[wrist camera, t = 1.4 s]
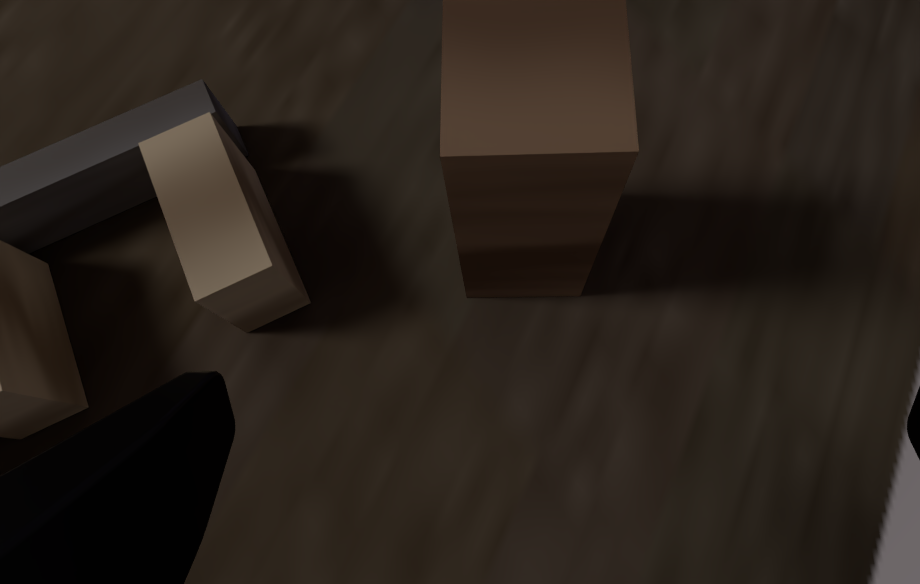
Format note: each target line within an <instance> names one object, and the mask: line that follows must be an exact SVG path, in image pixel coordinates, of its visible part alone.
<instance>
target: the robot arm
mask: <svg viewBox="0 0 920 584" xmlns="http://www.w3.org/2000/svg"><path fill="white" fill-rule="evenodd" d="M907 432H908V436H909V439H910V441H911V443H912V445H913V447H914V449H915V451H916V453H917V456H918V458H919V459H920V387H919V390H918V392H917V395H916V398H915V401H914V403H913V406H912V409H911V411H910V414H909V417H908V421H907ZM234 435H235V419H234V415H233V411H232V407H231V404H230V400H229V396H228V392H227V388H226V385H225V381H224V379H223V377H222V375H221V374H220V373H218V372H217V371H189V372H186V373H184V374H182V375H180V376H178V377H177V378H175V379H173V380H171V381H169V382H168V383H166V384H164V385H162V386H161V387H159V388H157V389H155V390H153V391H152V392H150V393H148V394H146V395H144V396H143V397H141V398H139V399H137V400H135V401H134V402H132V403H130V404H128V405H126V406H125V407H123V408H121V409H119V410H117V411H116V412H114V413H112V414H110V415H109V416H107V417H105V418H103V419H101V420H100V421H98V422H96V423H94V424H92V425H91V426H89V427H87V428H85V429H83V430H82V431H80V432H78V433H76V434H74V435H73V436H71V437H69V438H67V439H65V440H64V441H62V442H60V443H58V444H57V445H55V446H53V447H51V448H49V449H48V450H46V451H44V452H42V453H40V454H39V455H37V456H35V457H33V458H31V459H30V460H28V461H26V462H24V463H22V464H21V465H19V466H17V467H15V468H13V469H12V470H10V471H8V472H6V473H5V474H3V475H1V476H0V584H184V582H185V580H186V577H187V575H188V573H189V570H190V568H191V566H192V563H193V561H194V559H195V556H196V554H197V551H198V549H199V546H200V544H201V542H202V539H203V536H204V533H205V530H206V527H207V524H208V521H209V518H210V514H211V511H212V508H213V505H214V501H215V498H216V495H217V492H218V488H219V485H220V482H221V479H222V475H223V472H224V469H225V465H226V462H227V459H228V456H229V452H230V449H231V446H232V443H233V439H234Z"/></svg>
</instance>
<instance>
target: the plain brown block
mask: <svg viewBox="0 0 920 584" xmlns="http://www.w3.org/2000/svg"><path fill="white" fill-rule="evenodd" d="M638 152H639V147H638V136H637V124H636V113H635V102H634V90H633V79H632V67H631V56H630V44H629V33H628V22H627V10H626V0H443V24H442V78H441V133H440V159H441V164H442V170H443V175H444V180H445V185H446V191H447V196H448V201H449V207H450V212H451V217H452V222H453V228H454V233H455V238H456V244H457V249H458V254H459V259H460V265H461V270H462V275H463V281H464V286H465V291H466V296H467V298H482V297H565V296H581V293H582V291H583V288H584V286H585V283H586V281H587V278H588V276H589V273H590V271H591V268H592V266H593V263H594V261H595V258H596V256H597V254H598V251H599V249H600V246H601V244H602V241H603V239H604V236H605V234H606V231H607V229H608V226H609V224H610V221H611V219H612V216H613V214H614V212H615V209H616V207H617V204H618V202H619V199H620V197H621V194H622V192H623V189H624V187H625V184H626V182H627V179H628V177H629V174H630V172H631V170H632V167H633V165H634V162H635V160H636V157H637V155H638Z"/></svg>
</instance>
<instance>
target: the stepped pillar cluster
mask: <svg viewBox="0 0 920 584" xmlns="http://www.w3.org/2000/svg"><path fill="white" fill-rule="evenodd" d="M248 155H249V154H248V152H247V150H246V147H245V145H244V142H243V140H242V138H241V135H240V133H239V131H238V128H237V126H236V124H235V123H234V122H233V120H232V119H231V118H230V116H229V115H228V114H227V112H226V111H225V109H224V108H223V107H222V105H221V104H220V103H219V101H218V100H217V99H216V97H215V96H214V94H213V93H212V92H211V90H210V89H209V88H208V86H207V85H206V84H205V82H204V81H203V80H202V79H201V80H199V81H197V82H194V83H192V84H190V85H188V86H185V87H183V88H181V89H178V90H176V91H174V92H171V93H169V94H167V95H165V96H162V97H160V98H158V99H155V100H153V101H151V102H149V103H146V104H144V105H142V106H139V107H137V108H135V109H132V110H130V111H128V112H126V113H123V114H121V115H119V116H116V117H114V118H112V119H109V120H107V121H105V122H103V123H100V124H98V125H96V126H93V127H91V128H89V129H87V130H84V131H82V132H80V133H77V134H75V135H73V136H70V137H68V138H66V139H64V140H61V141H59V142H57V143H54V144H52V145H50V146H47V147H45V148H43V149H41V150H38V151H36V152H34V153H31V154H29V155H27V156H25V157H22V158H20V159H18V160H15V161H13V162H11V163H8V164H6V165H4V166H2V167H0V437H3V438H13V439H23V438H25V437H27V436H29V435H31V434H33V433H35V432H38V431H40V430H42V429H44V428H46V427H48V426H50V425H52V424H55V423H57V422H59V421H61V420H63V419H65V418H67V417H69V416H72V415H74V414H76V413H78V412H80V411H82V410H84V409H86V408H89V406H88V403H87V399H86V396H85V392H84V389H83V385H82V382H81V378H80V375H79V371H78V368H77V364H76V361H75V357H74V353H73V350H72V346H71V343H70V339H69V336H68V332H67V329H66V325H65V322H64V318H63V315H62V311H61V308H60V304H59V301H58V297H57V294H56V290H55V287H54V283H53V279H52V276H51V272H50V269H49V265H48V264H47V263H45V262H43V261H41V260H39V259H37V258H35V257H33V256H31V255H29V254H30V253H32V252H34V251H36V250H38V249H41V248H43V247H45V246H47V245H50V244H52V243H54V242H56V241H59V240H61V239H63V238H65V237H67V236H70V235H72V234H74V233H76V232H79V231H81V230H83V229H85V228H88V227H90V226H92V225H94V224H97V223H99V222H101V221H103V220H105V219H108V218H110V217H112V216H114V215H117V214H119V213H121V212H123V211H126V210H128V209H130V208H132V207H134V206H137V205H139V204H141V203H143V202H146V201H148V200H150V199H152V198H155V197H158V200H159V203H160V206H161V208H162V211H163V214H164V217H165V220H166V222H167V225H168V228H169V231H170V234H171V236H172V239H173V242H174V245H175V248H176V250H177V253H178V256H179V259H180V261H181V264H182V267H183V270H184V273H185V275H186V278H187V281H188V284H189V287H190V289H191V292H192V295H193V298H194V301H195V302H196V303H198V304H200V305H201V306H203V307H205V308H206V309H208V310H210V311H211V312H213V313H215V314H216V315H218V316H220V317H221V318H223V319H225V320H226V321H228V322H230V323H231V324H233V325H235V326H236V327H238V328H239V329H241V330H243V331H244V332H246V333H248V332H250V331H252V330H255V329H257V328H259V327H261V326H263V325H265V324H267V323H269V322H272V321H274V320H276V319H278V318H280V317H282V316H284V315H286V314H289V313H291V312H293V311H295V310H297V309H299V308H301V307H303V306H306V305H308V304H310V303H311V302H310V299H309V297H308V294H307V292H306V290H305V287H304V285H303V283H302V280H301V278H300V275H299V273H298V271H297V268H296V266H295V264H294V261H293V259H292V256H291V254H290V252H289V249H288V247H287V245H286V242H285V240H284V237H283V235H282V233H281V230H280V228H279V226H278V223H277V221H276V218H275V216H274V214H273V211H272V209H271V207H270V204H269V202H268V199H267V197H266V195H265V192H264V190H263V188H262V185H261V183H260V180H259V178H258V176H257V173H256V171H255V169H254V168H253V167H252V166H251V164H250V163H249V162H248V160H247V159H246V158H245V157H246V156H248Z"/></svg>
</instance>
